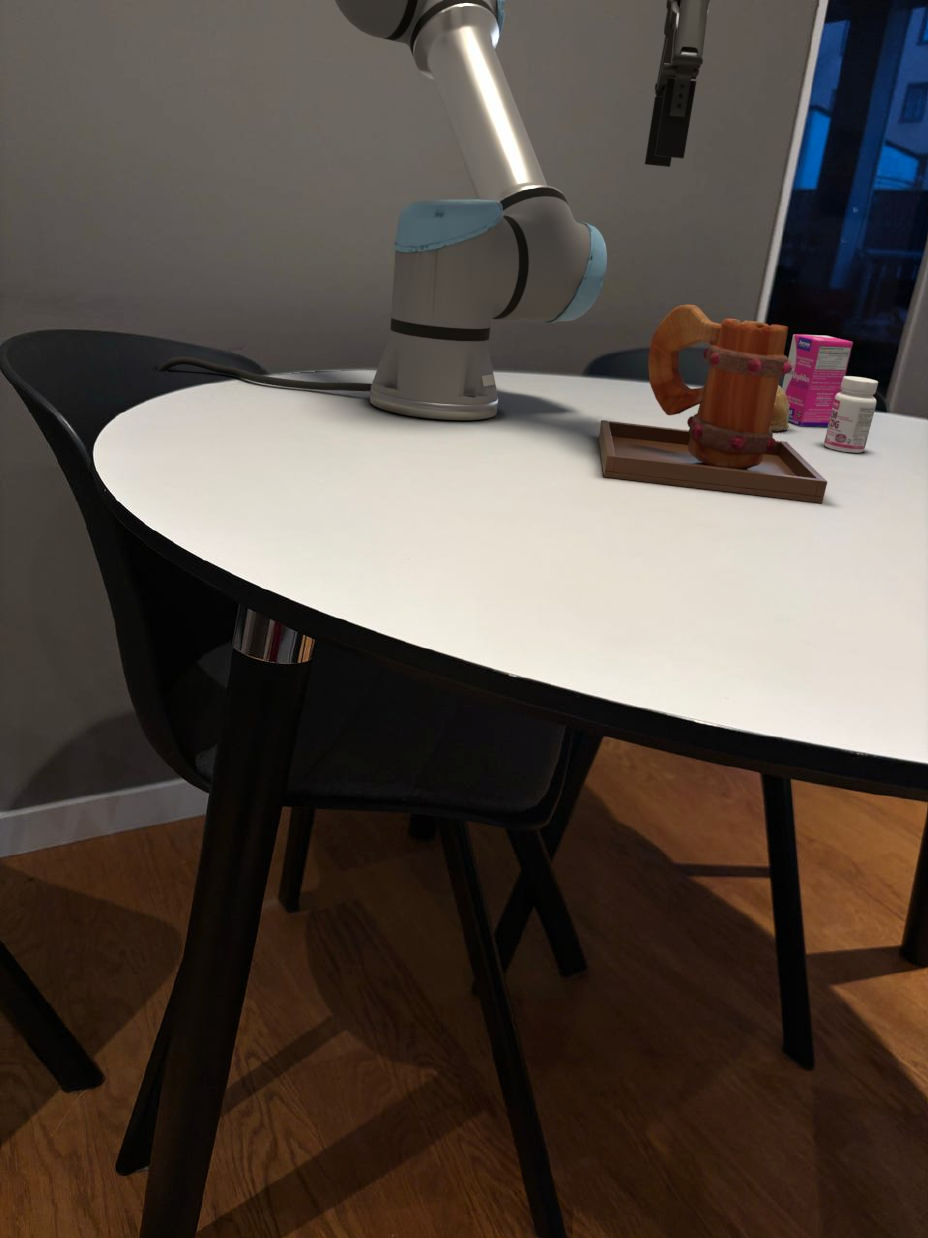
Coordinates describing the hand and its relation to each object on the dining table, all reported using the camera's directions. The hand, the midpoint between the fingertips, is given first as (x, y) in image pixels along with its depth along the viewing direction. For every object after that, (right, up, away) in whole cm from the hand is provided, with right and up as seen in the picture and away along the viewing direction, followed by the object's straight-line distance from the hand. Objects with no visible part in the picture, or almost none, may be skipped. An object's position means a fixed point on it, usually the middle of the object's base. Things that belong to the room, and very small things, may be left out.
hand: (662, 161), depth 100 cm
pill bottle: (+26, -26, +19) cm, 42 cm away
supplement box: (+27, -20, +35) cm, 48 cm away
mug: (+4, -30, +2) cm, 31 cm away
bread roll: (+17, -21, +29) cm, 40 cm away
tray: (+4, -31, +1) cm, 31 cm away
